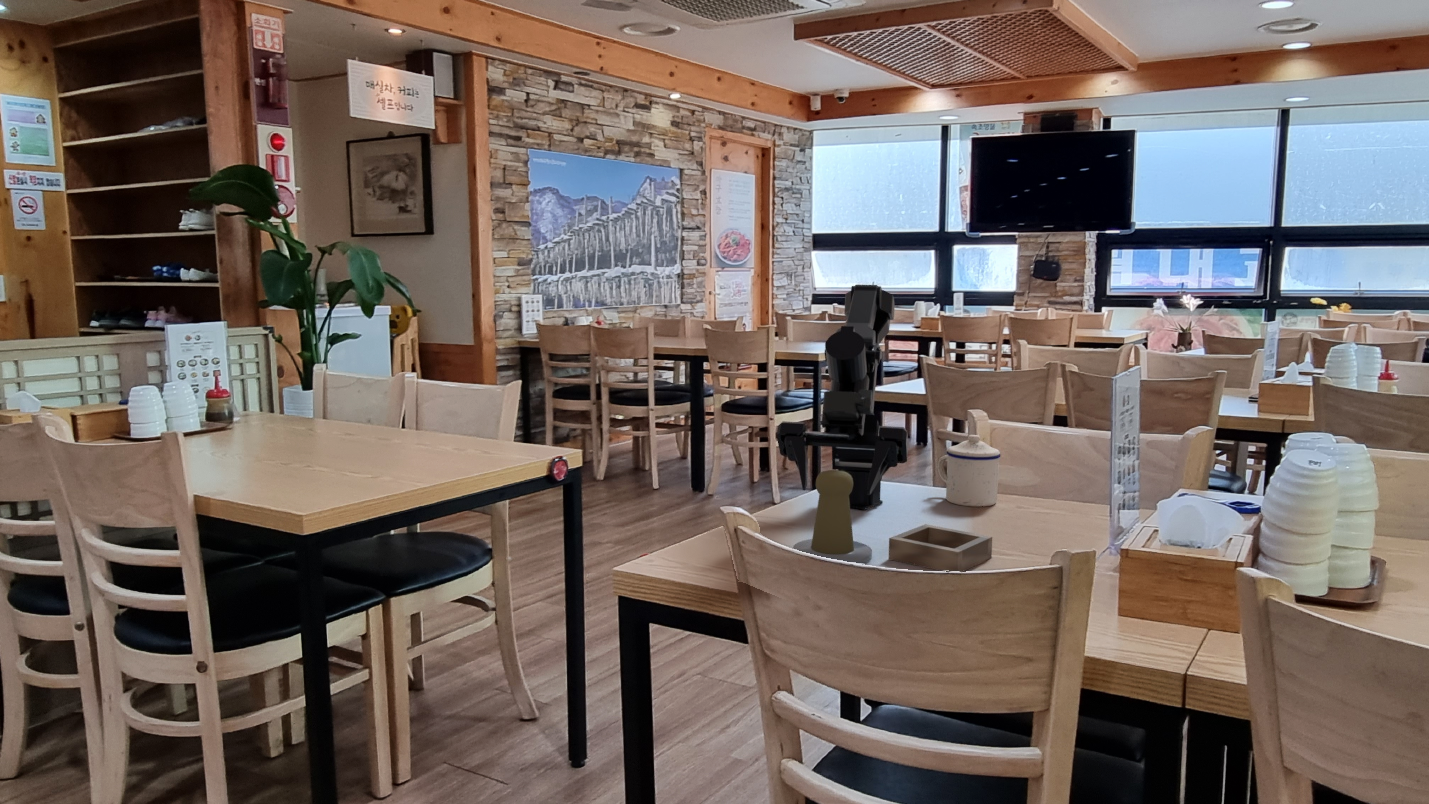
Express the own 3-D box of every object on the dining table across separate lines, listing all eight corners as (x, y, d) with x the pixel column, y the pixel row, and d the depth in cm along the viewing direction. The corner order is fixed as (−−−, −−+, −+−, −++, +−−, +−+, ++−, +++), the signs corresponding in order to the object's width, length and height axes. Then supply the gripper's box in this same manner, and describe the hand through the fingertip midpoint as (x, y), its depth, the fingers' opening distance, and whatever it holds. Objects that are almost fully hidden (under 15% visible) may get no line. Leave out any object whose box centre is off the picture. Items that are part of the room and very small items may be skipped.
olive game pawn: (840, 556, 137) (842, 477, 135) (802, 549, 140) (804, 471, 139) (862, 547, 142) (864, 470, 140) (825, 540, 145) (827, 465, 144)
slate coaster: (777, 556, 140) (777, 549, 140) (821, 540, 149) (821, 534, 149) (844, 572, 133) (844, 564, 133) (886, 554, 142) (886, 547, 142)
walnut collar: (888, 559, 140) (889, 538, 139) (924, 544, 147) (925, 524, 147) (957, 574, 133) (958, 552, 133) (991, 557, 141) (992, 536, 140)
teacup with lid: (1009, 502, 175) (1012, 436, 173) (975, 510, 169) (978, 441, 168) (954, 490, 184) (957, 427, 182) (920, 496, 178) (923, 432, 177)
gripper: (779, 366, 147) (763, 455, 138) (909, 371, 143) (901, 462, 133) (788, 412, 156) (773, 498, 147) (910, 418, 151) (903, 506, 142)
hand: (835, 490), depth 142 cm, fingers open, 9 cm apart
